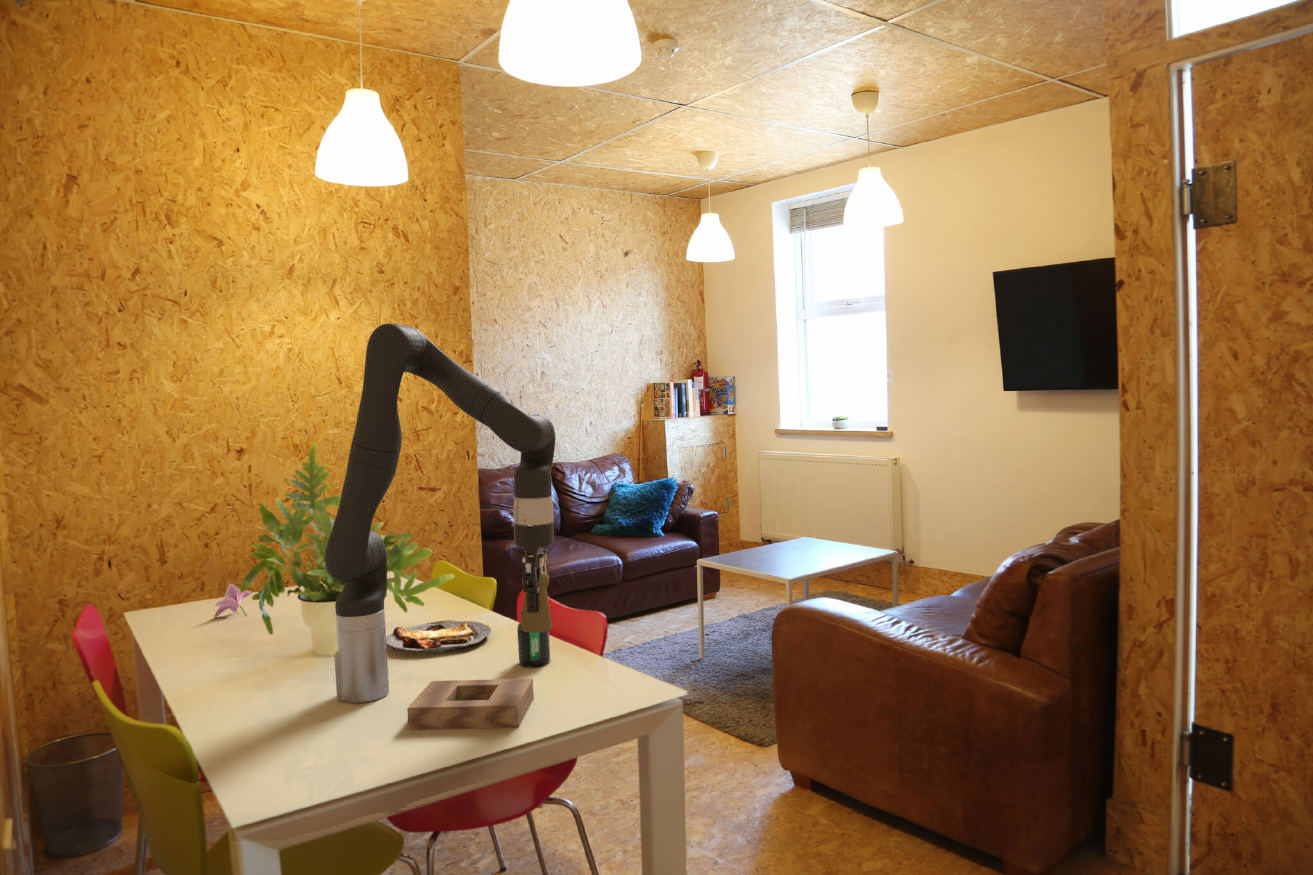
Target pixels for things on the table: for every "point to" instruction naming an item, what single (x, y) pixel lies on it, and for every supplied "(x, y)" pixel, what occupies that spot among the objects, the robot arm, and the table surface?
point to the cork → (543, 617)
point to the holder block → (471, 704)
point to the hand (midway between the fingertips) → (535, 608)
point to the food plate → (437, 636)
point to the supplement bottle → (533, 647)
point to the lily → (231, 600)
